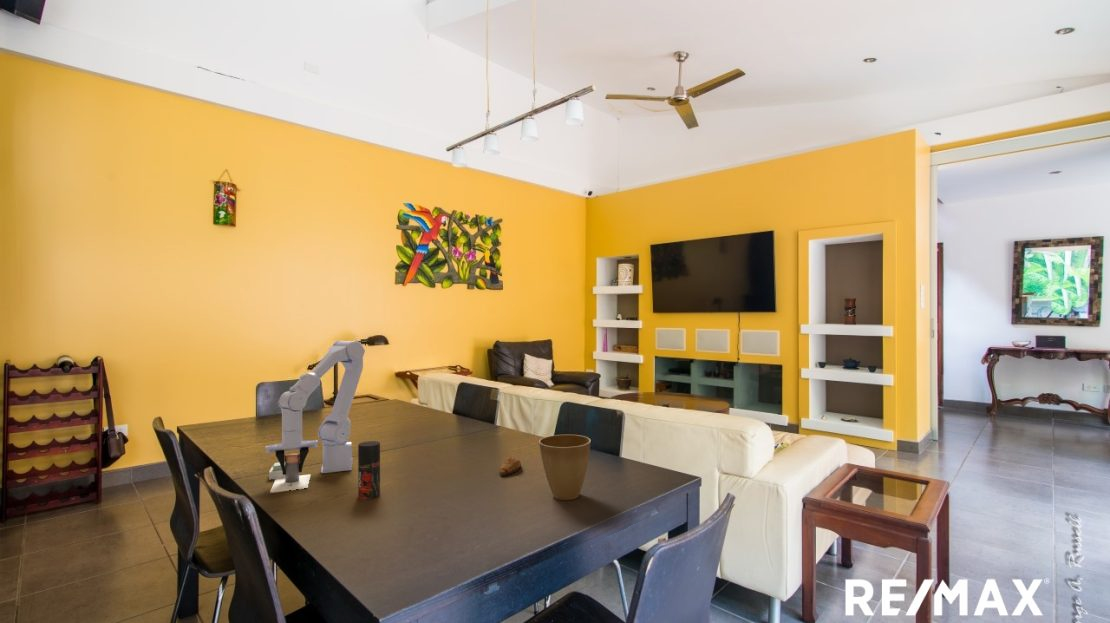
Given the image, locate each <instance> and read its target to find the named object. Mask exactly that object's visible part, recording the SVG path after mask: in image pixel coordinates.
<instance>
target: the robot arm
mask: <svg viewBox="0 0 1110 623" xmlns="http://www.w3.org/2000/svg"><path fill="white" fill-rule="evenodd" d="M365 352H366V350H365V348H364V346H363V344H362V343H361V342H360V341H359V340H351V341H350V340H336V341H335V342H334V343H333V344H332V345H331V346H330V347H328V351H327V353H326V354H325V355H324V356H323V358H321V360H320V361H319V362H318V364H317V365H316V366H315V367H314V368H313V370H312V371H311V372H305V373H304V374H301V375H300V376H299V379H298V381H296V383H294V384H293V385H292V386H290V388H289V391H284V392H283V393H281V395H280V397H279V399H278V401H277V405H278V407H279V408H280V410H281V443H278V444H277V443H276V444H271V445H265V454H270V453H275V457H276V459H277V460H278V463H280V465H281V468H282V472H283V475H285V455H286V454H285V451H293V450H299V454H300V461H299V474H300V473H302V472H303V467H304V463H305V461H306V458H307V456H308V454H309V451H310V448H318V446H319V443H318V439H315V440H314V439H313V440H303V409H304V408H305V407H306V405H307V401H308V399H309V397H310V396H311V394H312V393H313V392H314V391H315V390H316V389H317V388H318V387H319V386H320V384H321V378H323V377H324V375H325V374H326V373H327V372H329V371H330V370H331V369H332V367H333V366H335V365H336V364H337V363H340V364H342V366H343V367H344V372H343V377H342V379H341V382H340V386H339V389H338V391H337V395H336V397H335V400H334V404H333V406H332V410H331V412H330V413H329V414H328V415H326V416H325V418H324V420H323V422H322V424H321V425H320V426H319V428H318V431H317V435H318V438H319V439H320V440H321V444H322V466H321V469H320V470H321V471H320V473H321V474H329V473H336V472H345V471H352V470H353V469H352V468H353V466H352V465H353V463H354V458H353V457H352V456H353V455H352V454H353V447H352V446H353V445H352V444H353V442H352V441H348V440H349V438H350V436H351V425H352V421H351V420H350V418H349V413H350V410H351V407H352V404H353V401H354V398H355V394H356V393H357V388H358V385H359V382H360V379H361V375H362V372H363V369H364V355H365Z"/></svg>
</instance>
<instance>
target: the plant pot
mask: <svg viewBox="0 0 1110 623" xmlns="http://www.w3.org/2000/svg"><path fill="white" fill-rule="evenodd" d="M591 441H592V440H591V438H589V437H588V436H585V435H580V434H555V435H549V436H545V437H542V438H541V439H539V441H538V444H539V451H540V456H541V461H542V465H543V469H544V473H545V477H546V480H547V483H548V486H549V488H550V491H551V494H552V496H553V498H554V499H556V500H561V501H572V500H575V499H578V497H579V496H580V494H581V491H582V488H583V484H584V481H585V478H586V473H587V469H588V463H589V459H590V450H591Z"/></svg>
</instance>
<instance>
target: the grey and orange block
mask: <svg viewBox="0 0 1110 623" xmlns="http://www.w3.org/2000/svg"><path fill="white" fill-rule="evenodd" d="M299 463H300V453H289V454H285V482H287V483H291V482H296V481H299V476H300V473H299Z"/></svg>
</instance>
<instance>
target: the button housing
mask: <svg viewBox="0 0 1110 623" xmlns="http://www.w3.org/2000/svg"><path fill="white" fill-rule="evenodd" d="M282 477H285V475H283V472H282V470H278V471H273V466H271V468H270V470H269V471H268V480H269V481H270V480H271V479H273V480H276V478H282Z"/></svg>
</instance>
